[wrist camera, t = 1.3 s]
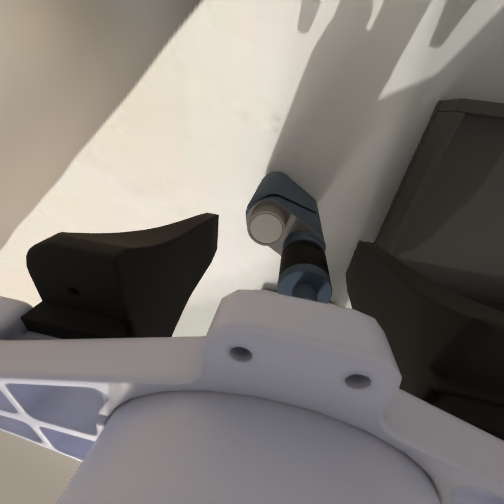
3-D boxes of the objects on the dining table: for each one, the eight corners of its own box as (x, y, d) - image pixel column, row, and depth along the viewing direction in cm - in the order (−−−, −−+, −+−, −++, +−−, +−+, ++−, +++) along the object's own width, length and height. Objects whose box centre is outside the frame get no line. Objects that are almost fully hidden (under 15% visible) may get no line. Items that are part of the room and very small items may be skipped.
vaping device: (301, 226, 20) (305, 338, 10) (254, 188, 19) (206, 270, 9) (323, 205, 19) (352, 308, 9) (274, 163, 18) (243, 224, 8)
